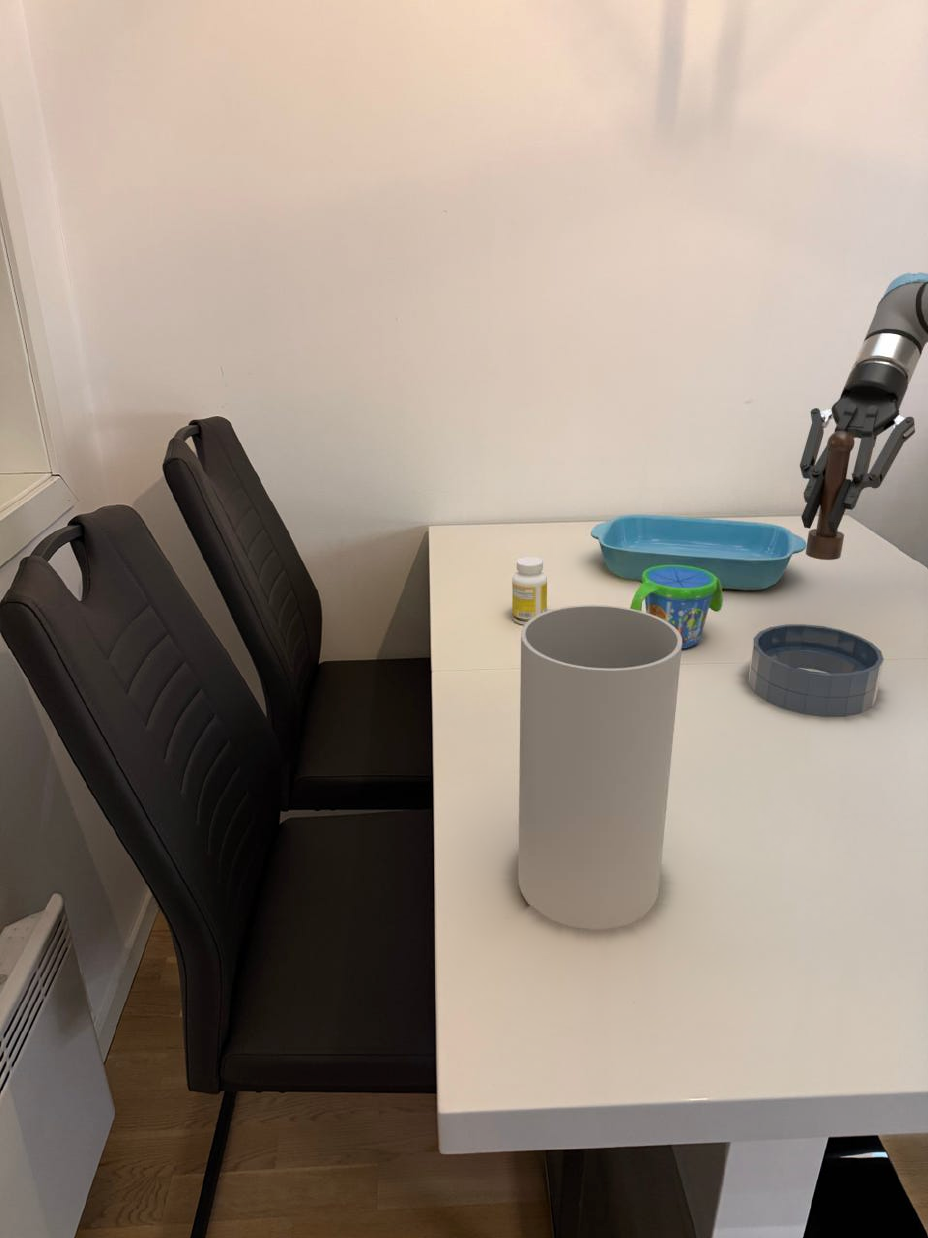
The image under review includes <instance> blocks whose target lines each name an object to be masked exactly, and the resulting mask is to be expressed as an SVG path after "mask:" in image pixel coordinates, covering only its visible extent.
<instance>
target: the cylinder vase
mask: <svg viewBox="0 0 928 1238" xmlns="http://www.w3.org/2000/svg"><path fill="white" fill-rule="evenodd" d="M520 632H521V633H520V689H519V690H520V692H519V693H520V694H519V696H520V699H519V701H520V702H519V771H518V772H519V778H518V779H519V781H518V782H519V783H518V784H519V785H518V861H517V862H518V863H517V864H518V866H517V867H518V868H517V873H518V874H517V878H518V879H517V880H518V886H519V889H520V892H521V894H522V896H523V898H524V900H525V902H527V904H528V905H529V906H531V907H532V908H533V909H534V910H536V911H537V912H538V913H539V914H541V915H543V916H544V917H545V918H548V919H549V920H552V921H553V922H555V923H559V924H561V925H563V926H567V927H570V928H575V929H576V928H577V929H581V930H590V931H591V930H592V931H601V930H612V929H617V928H620V927H621V928H622V927H625V926H627V925H631V924H632V923H634V922H637V921H638V920H640V919H642V918H643V917H644V916H645V915H646V914H648V913H649V911H651V909H652V908H653V907H654V905H655V903H656V902H657V899H658V896H659V892H660V891H659V890H660V880H661V871H662V870H661V868H662V861H663V860H662V859H663V849H664V840H665V839H664V838H665V826H666V815H667V807H668V796H669V795H668V794H669V785H670V775H671V764H672V753H673V744H674V743H673V742H674V733H675V723H676V722H675V721H676V711H677V701H678V690H679V679H680V670H681V661H682V660H681V659H682V650H683V648H682V637H681V635H680V633H679V632H678V630H677V629H676V628H675V627H674V626H672V625H671V624H670V623H668V622H667V621H665V620H663V619H661V618H659V617H657V616H654V615H651V614H649V613H646V611H642V610H641V611H638V610H634V609H630V607H624V606H617V605H606V604H605V605H604V604H579V605H569V606H564V607H557V608H554V609H553V608H552V609H550V610H547V611H546V612H544V613H541V614H539V615H537V616H535V617H533V618H532V619H530V620H529V621H528V622H527V623H526V624H525V625H522V627H521V631H520Z"/></svg>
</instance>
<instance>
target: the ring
mask: <svg viewBox="0 0 928 1238" xmlns="http://www.w3.org/2000/svg"><path fill="white" fill-rule="evenodd" d="M884 661H885V658H884V656H883V653H882V650H880V649H879V648H878V647H877V646H876V645H875V644H874V643H873V642H871V641H869V640H868V639H866V638H864V637H862V636H860V635H857V634H855V633H851V632H849V631H846V630H843V629H839V628H833V627H829V626H824V625H815V624H804V623H799V624H798V623H795V624H793V623H792V624H789V623H788V624H780V625H775V626H769V627H767V628H765V629H762V630H760V631H759V632H758V633H757V634H756V635H755V636H754V637H753V640H752V648H751V655H750V661H749V662H750V663H749V670H748V686H749V687H750V688H751V690H752V691H753V693H754V694H755V695H756V696H758V697H760V698H761V699H762V700H763V701H765V702H767V703H769V704H771V705H773V706H775V707H778V708H780V709H781V710H782V709H783V710H786V711H790V712H793V713H797V714H800V715H803V716H804V715H806V716H813V717H820V718H845V717H851V716H855V715H859V714H862V713H864V712H866V711H869V709H872V707H873V706H874V703H875V702H876V700H877V697H878V696H877V695H878V691H879V686H880V681H881V676H882V671H883V666H884ZM811 670H816V671H811ZM819 671H820V672H819Z"/></svg>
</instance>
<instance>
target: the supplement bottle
mask: <svg viewBox="0 0 928 1238" xmlns="http://www.w3.org/2000/svg"><path fill="white" fill-rule="evenodd" d="M543 570H544V561H543V560H542V558H540V557H534V556H525V557H521V558H518V559H517V560H516V571H517V572H515V573H514V574H513V576H512V578H511V579H512V581H511V582H512V583H511V584H512V586H511V588H512V590H511V591H512V593H511V595H512V596H511V598H512V599H511V600H512V603H511V605H512V619H513V621H514V622H515V623H517V624H519V625H522V626H524V625H525V624H526V623H527V622H528V621H529V620H530V619H532V618H533V617H535V616H537V615H539V614H541V613H544V612H546V611H548V577H547V575H546V574H545V573H544V572H542V571H543Z"/></svg>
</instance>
